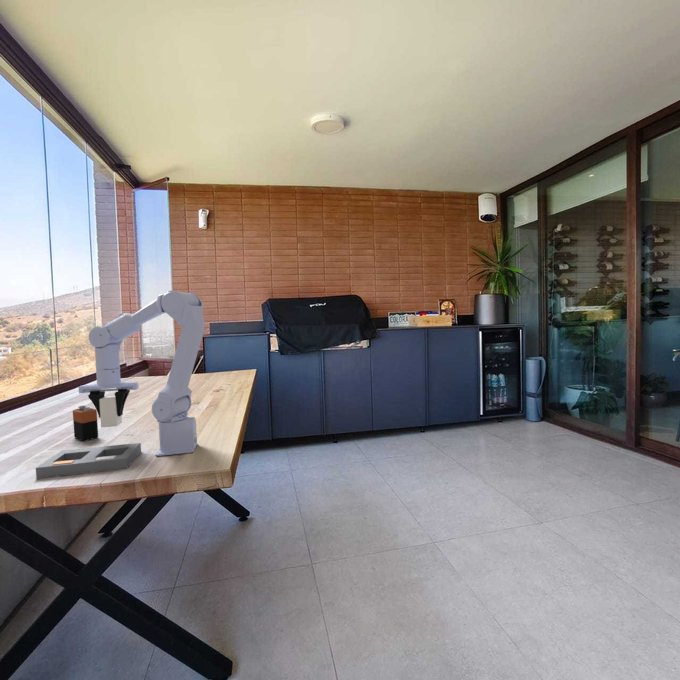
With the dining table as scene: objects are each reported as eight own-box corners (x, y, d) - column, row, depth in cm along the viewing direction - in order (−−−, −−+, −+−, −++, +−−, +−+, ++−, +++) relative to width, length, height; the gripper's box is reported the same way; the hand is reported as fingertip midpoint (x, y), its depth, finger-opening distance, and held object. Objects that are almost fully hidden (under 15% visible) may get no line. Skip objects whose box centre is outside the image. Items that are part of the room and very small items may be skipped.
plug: (122, 422, 106) (120, 395, 105) (117, 426, 102) (115, 398, 102) (106, 423, 105) (105, 396, 105) (101, 427, 101) (99, 399, 101)
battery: (89, 434, 119) (87, 404, 118) (99, 437, 115) (97, 406, 114) (73, 438, 115) (71, 407, 114) (83, 441, 111) (81, 409, 111)
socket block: (141, 451, 101) (140, 442, 100) (127, 468, 89) (126, 457, 89) (62, 459, 96) (61, 449, 96) (36, 478, 84) (35, 467, 84)
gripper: (72, 372, 97) (75, 422, 98) (131, 369, 100) (134, 417, 101) (83, 369, 104) (86, 415, 105) (139, 366, 107) (142, 411, 108)
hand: (111, 416), depth 103 cm, fingers closed on plug, 4 cm apart
